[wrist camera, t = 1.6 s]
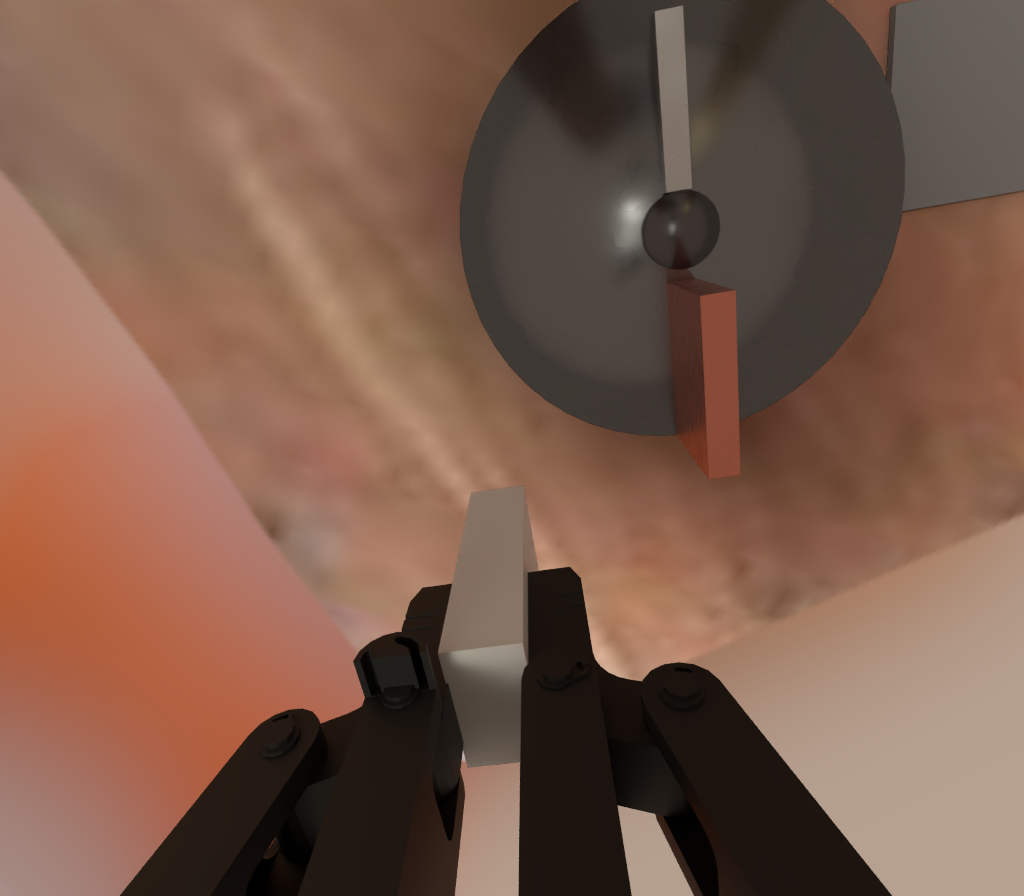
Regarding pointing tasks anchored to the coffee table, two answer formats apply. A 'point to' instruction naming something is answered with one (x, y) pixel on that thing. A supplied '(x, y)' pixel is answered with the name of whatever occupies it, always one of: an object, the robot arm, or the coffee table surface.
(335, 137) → the coffee table surface
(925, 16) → the rest pad
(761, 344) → the compass
